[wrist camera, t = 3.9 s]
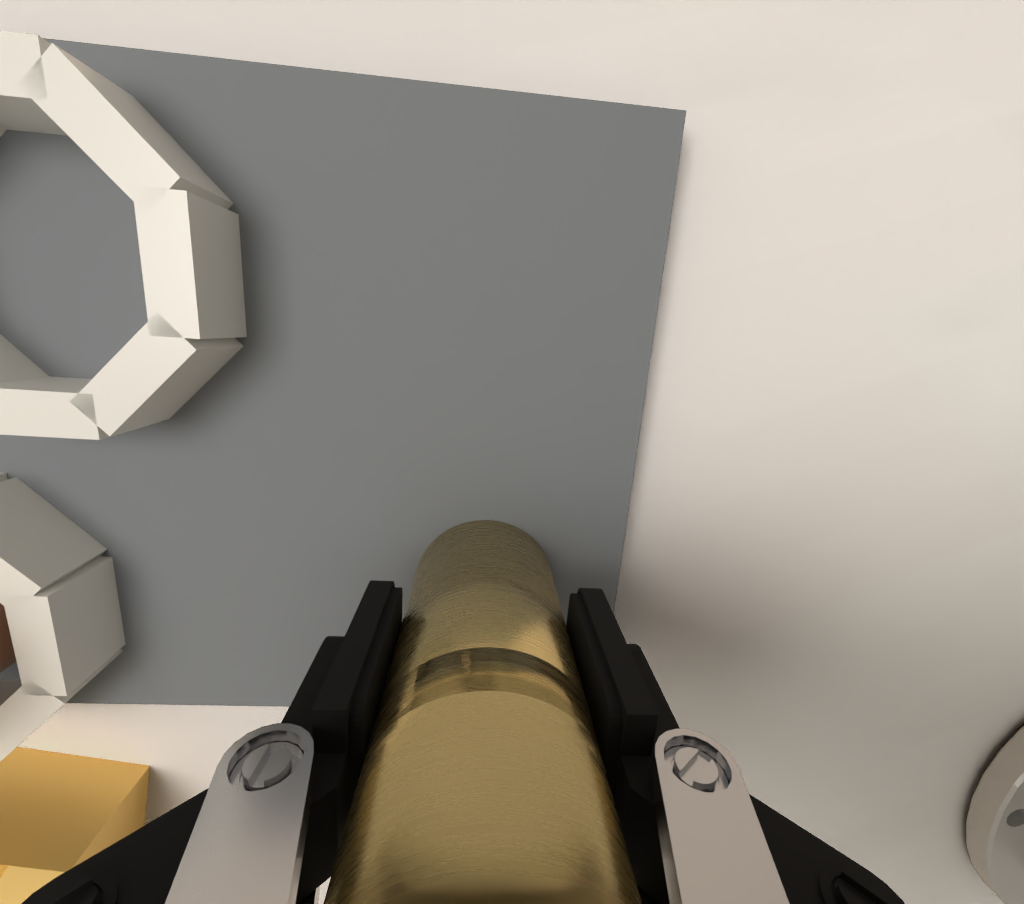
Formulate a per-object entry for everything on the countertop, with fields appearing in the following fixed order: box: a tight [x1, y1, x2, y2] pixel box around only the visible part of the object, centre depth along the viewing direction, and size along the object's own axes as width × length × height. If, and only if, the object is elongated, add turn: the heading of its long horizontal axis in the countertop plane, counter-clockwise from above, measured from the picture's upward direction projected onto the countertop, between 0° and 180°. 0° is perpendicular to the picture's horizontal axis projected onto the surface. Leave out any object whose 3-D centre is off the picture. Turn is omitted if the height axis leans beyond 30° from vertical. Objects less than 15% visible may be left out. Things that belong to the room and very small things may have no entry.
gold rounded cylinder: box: [324, 520, 642, 904], centre depth 9 cm, size 4×4×10 cm
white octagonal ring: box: [0, 31, 247, 440], centre depth 10 cm, size 7×7×2 cm
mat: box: [0, 38, 686, 707], centre depth 13 cm, size 22×17×1 cm
